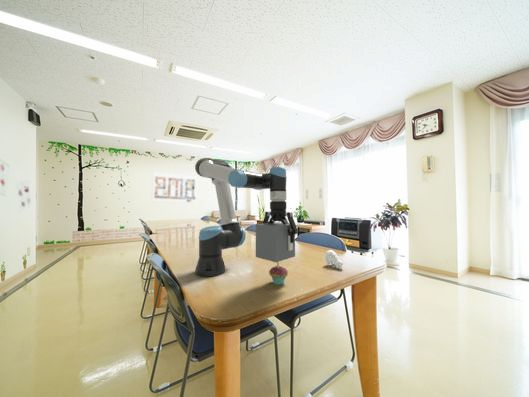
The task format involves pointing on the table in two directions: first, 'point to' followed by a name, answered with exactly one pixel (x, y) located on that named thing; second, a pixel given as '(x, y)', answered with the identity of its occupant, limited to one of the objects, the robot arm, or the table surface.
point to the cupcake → (278, 274)
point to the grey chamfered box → (273, 242)
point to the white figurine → (333, 259)
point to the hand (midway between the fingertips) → (278, 248)
